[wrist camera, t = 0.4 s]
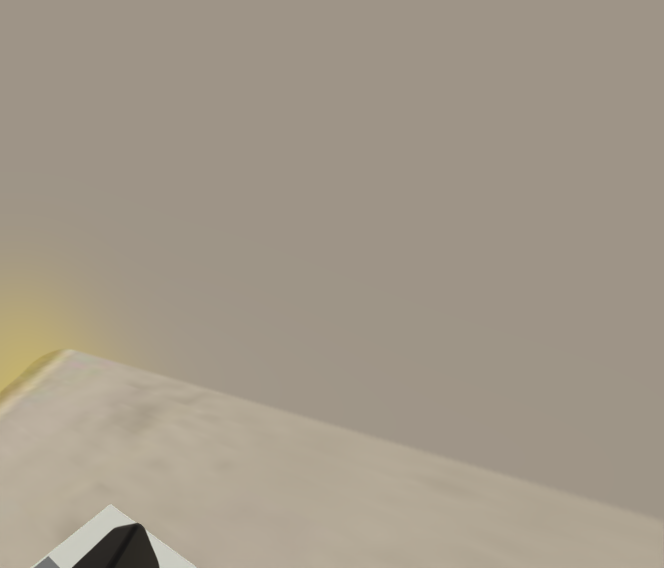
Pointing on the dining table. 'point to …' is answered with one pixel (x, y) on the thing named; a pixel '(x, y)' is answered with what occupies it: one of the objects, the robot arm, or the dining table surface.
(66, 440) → the dining table surface
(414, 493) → the dining table surface
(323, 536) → the dining table surface
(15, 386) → the dining table surface
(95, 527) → the socket block
